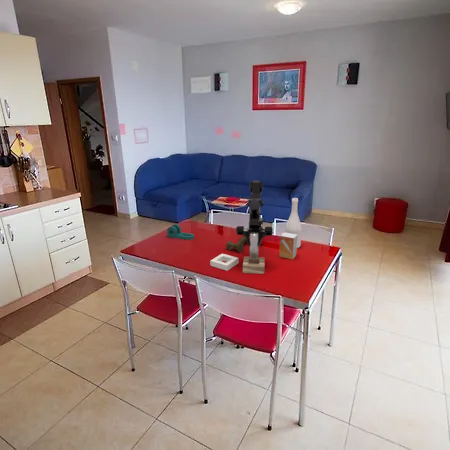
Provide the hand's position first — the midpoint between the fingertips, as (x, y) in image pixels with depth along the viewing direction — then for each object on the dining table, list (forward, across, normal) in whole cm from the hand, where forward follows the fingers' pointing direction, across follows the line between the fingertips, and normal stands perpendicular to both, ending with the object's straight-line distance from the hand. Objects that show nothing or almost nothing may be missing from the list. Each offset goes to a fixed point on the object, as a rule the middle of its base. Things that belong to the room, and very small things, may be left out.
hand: (253, 246), depth 161 cm
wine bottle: (-14, +23, +33) cm, 42 cm away
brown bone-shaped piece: (-9, -11, +29) cm, 32 cm away
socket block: (+9, 0, +10) cm, 13 cm away
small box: (-3, +19, +22) cm, 29 cm away
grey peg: (+4, 0, +6) cm, 7 cm away
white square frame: (+6, -16, +13) cm, 21 cm away
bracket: (-20, -50, +40) cm, 67 cm away
